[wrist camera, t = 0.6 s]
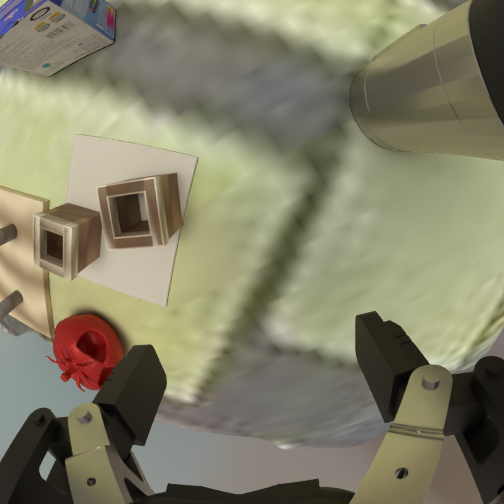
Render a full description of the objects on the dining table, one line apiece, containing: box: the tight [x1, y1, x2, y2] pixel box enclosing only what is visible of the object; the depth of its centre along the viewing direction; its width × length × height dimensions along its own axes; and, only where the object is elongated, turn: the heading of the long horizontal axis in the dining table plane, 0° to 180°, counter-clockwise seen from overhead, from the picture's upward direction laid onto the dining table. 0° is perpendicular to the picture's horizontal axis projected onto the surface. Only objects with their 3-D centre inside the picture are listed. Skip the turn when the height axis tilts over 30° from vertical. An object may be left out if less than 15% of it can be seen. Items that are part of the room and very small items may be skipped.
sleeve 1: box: [33, 203, 102, 281], centre depth 23 cm, size 5×5×6 cm
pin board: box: [0, 186, 55, 338], centre depth 25 cm, size 20×12×6 cm, turn 164°
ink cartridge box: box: [0, 0, 116, 77], centre depth 12 cm, size 10×6×14 cm, turn 99°
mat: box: [65, 134, 198, 307], centre depth 26 cm, size 16×14×1 cm
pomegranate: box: [46, 314, 124, 392], centre depth 27 cm, size 10×10×9 cm
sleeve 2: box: [96, 173, 183, 250], centre depth 22 cm, size 5×5×6 cm
